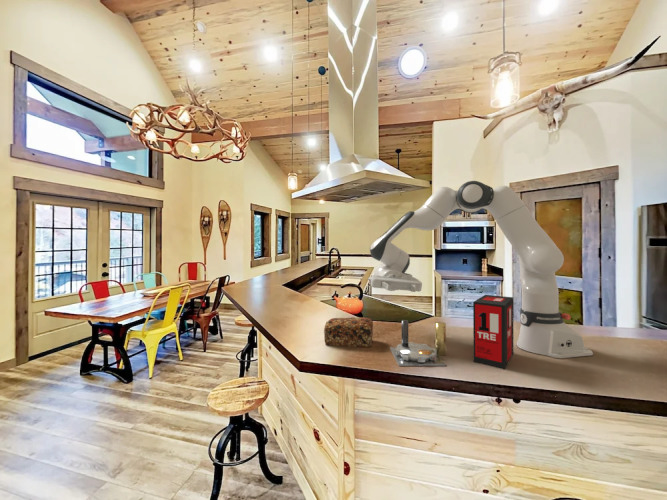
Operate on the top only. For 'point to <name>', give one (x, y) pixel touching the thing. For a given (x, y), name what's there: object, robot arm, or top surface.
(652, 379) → the top surface
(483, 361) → the cleaning product box
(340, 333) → the bread
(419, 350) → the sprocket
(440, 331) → the roller
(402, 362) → the base plate
